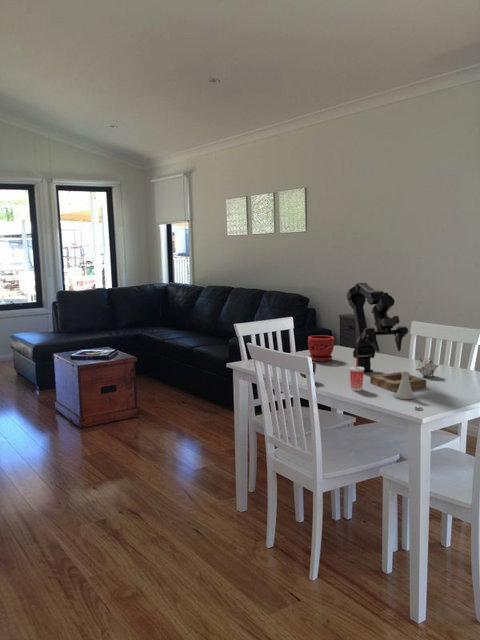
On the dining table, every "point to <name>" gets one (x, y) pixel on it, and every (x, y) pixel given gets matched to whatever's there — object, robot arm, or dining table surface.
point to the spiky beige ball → (426, 367)
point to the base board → (396, 381)
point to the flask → (405, 387)
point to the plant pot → (321, 347)
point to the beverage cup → (356, 377)
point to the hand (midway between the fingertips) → (389, 351)
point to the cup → (313, 370)
